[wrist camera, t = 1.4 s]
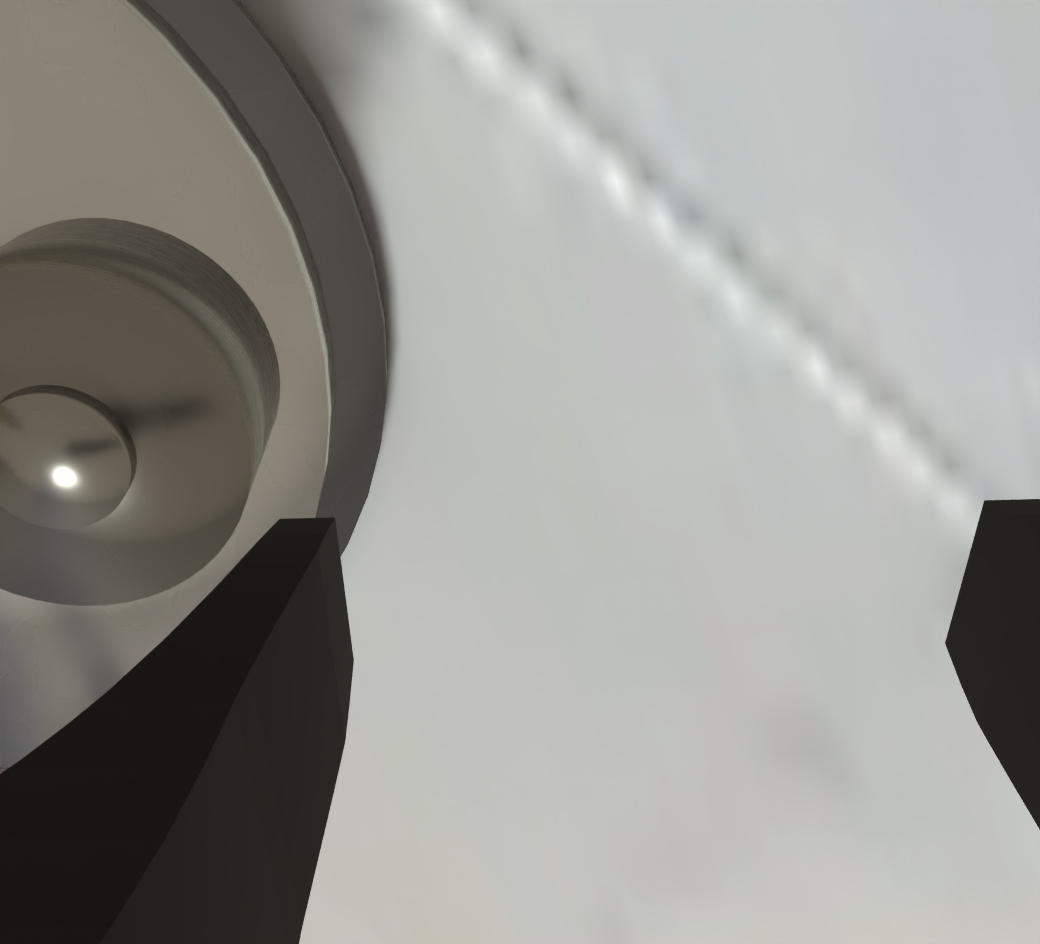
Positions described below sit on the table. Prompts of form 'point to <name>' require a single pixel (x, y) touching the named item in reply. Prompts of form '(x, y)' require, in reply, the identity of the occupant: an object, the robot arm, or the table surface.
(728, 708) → the table surface
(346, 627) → the robot arm
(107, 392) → the cover
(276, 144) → the turntable base
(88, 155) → the turntable
